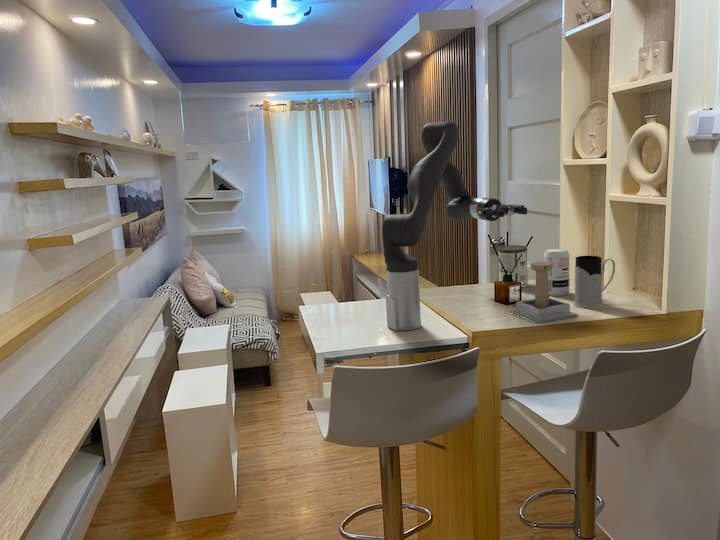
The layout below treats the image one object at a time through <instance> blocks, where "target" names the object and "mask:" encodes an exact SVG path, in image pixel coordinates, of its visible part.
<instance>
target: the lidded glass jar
mask: <svg viewBox="0 0 720 540" xmlns="http://www.w3.org/2000/svg"><path fill="white" fill-rule="evenodd" d="M524 249H525V250H524ZM497 251H498V260H499V259H500V261H501V263H502V264H503V266H504V267H505V268H506V269H507V274H511V272H512V270H513V268H514V266H515V264H516V262H517V261H518V259H519V257H520V256H521V254H522V256H521V257H520V259H519V261H518V263H517V264H516V266H515V268H514V270H513V272H512V279H513V280H514V281H519V282H523V284H522V288H526V287H528V285H529V284H528V246H525V245H518V244H517V245H503V246H499V247H498V248H497ZM523 251H524V252H523ZM501 263H500V262H499V261H498V282H499V281H502V280H503V276H504V273H505V272H504V269H503V267H502V265H501ZM522 288H521V289H522Z"/></svg>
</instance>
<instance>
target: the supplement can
mask: <svg viewBox="0 0 720 540" xmlns="http://www.w3.org/2000/svg"><path fill="white" fill-rule="evenodd" d="M543 262H551V263H553V268H551V269H550V270H548V289H549V297H563V296H566V295H568V294H569V293H570V253H569V251H568V249H566V248H548V249H545V252H544V253H543Z"/></svg>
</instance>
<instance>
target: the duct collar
mask: <svg viewBox="0 0 720 540" xmlns="http://www.w3.org/2000/svg"><path fill="white" fill-rule="evenodd" d="M515 307H516V309H513V310H509V311H508V313H509V312H510V313H513V314H516V315H519V316H522V317H525V318H527V319H529V320H532V321H534V322H533V323H535V322H536V323H535V324H537V323H538V325H540V324H544V323H550V322H555V321H559V320H566V319H570V318H575V317H578V313H576V312H575V313H574V312H572V311H571V304H570V303H567V302H564V301H561V300H558V299H554V298H551V297H549V303H548V307H545V308H537V307H536V303H535V298H531V299H526V300H525V299H524V300H520V301H516V302H515ZM510 313H509V314H510ZM513 314H512V315H513ZM516 315H515V316H516ZM519 316H518V317H519ZM527 319H526V320H527ZM529 320H528V321H529ZM532 321H531V322H532ZM539 323H540V324H539Z"/></svg>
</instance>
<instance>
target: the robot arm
mask: <svg viewBox="0 0 720 540" xmlns="http://www.w3.org/2000/svg"><path fill="white" fill-rule="evenodd" d="M459 135H460V132H459V127H458V124H456V123H455V121H454V122H453V121H449V120H448V121H446V120H445V121H436V122H435V121H434V122H427V123H426V124H424V126H423V127H422V129H421V140H422V141H421V142H422V145H423V147H424V149H425V152H426V154H427V155H426V156H424V157H423V158H421V159H420V160H419V161H418V162H417V163H416V164H415V165H414V166H413V168H412V171H411V173H410V175H409V177H408V180H407V185H406V187H407V192H408V194H409V196H410V199H411V201H412V204H413V207H412V211H411V212H410V213H408V214H407V213H406V214H405V213H404V214H403V213H401V214H398V213H397V214H396V213H395V214H387V215H386V216H385V217H384V218H383V220H382V224H381V235H382V236H381V237H382V247H383V254H384V255H383V257H384V262H385V264H386V277H387V282H386V283H387V295H385V306H386V307H385V308H386V323H387V324H386V326H387V327H388V328H390V329H391V330H394V331H395V332H398V331H413V330H417V329H419V328H421V327H422V318H421V299H420V298H421V295H420V275H419V274H420V273H419V272H420V271H419V260H418V259H417V258H416V257H414V256H411V255H410V254H408V253H406V252H405V251H404V250H403V249H402V247H403V248H405V247H407V248H409V247H410V248H411V247H416V246H417V245H418V244H419V243H420V242H421V240H422V238H423V234H424V230H425V227H426V223H427V219H428V215H429V212H430V209H431V207H432V204H433V200H434V198H435V196H436V193H437V190H438V188H439V185H440V183H442V186H443V189H444V192H445V194H446V196H447V198H448V199H452V200H450V201H449V202H448V203H447V205H446V206H445V212H446V214H447V216H448V217H449V218H450V219H452V220H455V221H462V220H463V221H464V220H467V219H470V218H472V219H476V220H481V221H486V222H496V221H497V220H499V219H500V218H504V217H505V216H513V215H528V208H527V206H525V205H523V204H514V203H512V204H505V203H502V202H501V200H499V199H497V198H492V197H473V196H472V195H471V194H470V192H469V191H468V189H467V188H466V186H465V183H464V180H463V176H462V174H461V173H462V172H460V170H459V169H458V168H457V166H455V165H454V163H452V162H451V161H450V159H451V157H452V155H453V153H454V151H455V149H456V147H457V145H458V141H459ZM509 212H510V213H509Z"/></svg>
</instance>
